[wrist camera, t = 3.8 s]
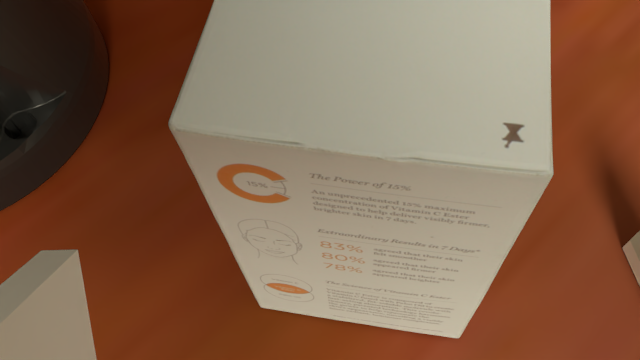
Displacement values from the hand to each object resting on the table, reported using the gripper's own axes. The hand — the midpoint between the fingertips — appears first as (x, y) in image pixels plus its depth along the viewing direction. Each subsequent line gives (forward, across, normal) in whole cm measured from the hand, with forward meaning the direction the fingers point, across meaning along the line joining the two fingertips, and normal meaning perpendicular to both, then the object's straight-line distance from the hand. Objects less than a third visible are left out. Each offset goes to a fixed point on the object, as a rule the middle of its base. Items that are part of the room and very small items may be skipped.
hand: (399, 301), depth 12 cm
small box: (+12, 0, -4) cm, 13 cm away
